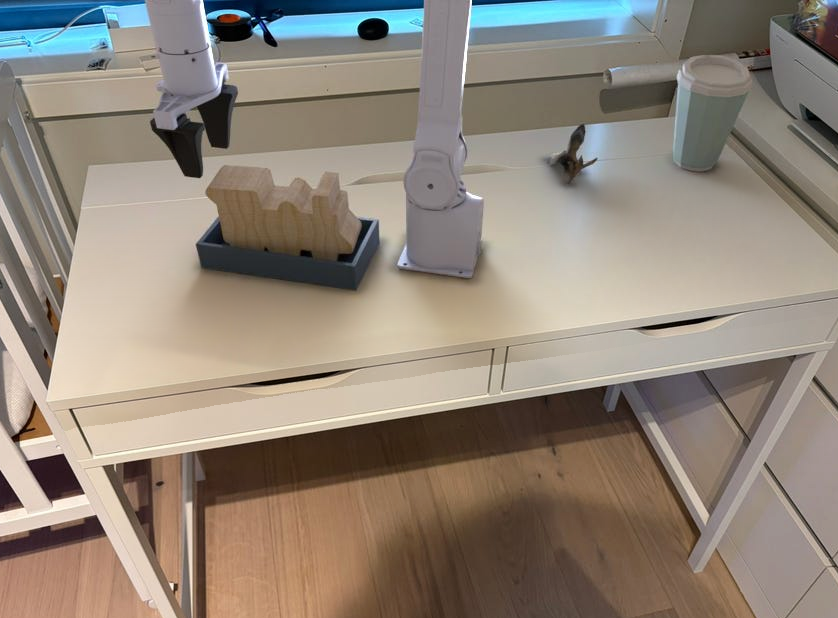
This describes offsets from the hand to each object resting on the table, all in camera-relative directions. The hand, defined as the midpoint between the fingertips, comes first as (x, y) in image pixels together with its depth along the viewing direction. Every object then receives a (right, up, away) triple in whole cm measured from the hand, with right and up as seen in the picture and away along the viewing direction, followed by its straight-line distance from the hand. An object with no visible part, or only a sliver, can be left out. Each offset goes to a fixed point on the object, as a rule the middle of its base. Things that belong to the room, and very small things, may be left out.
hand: (207, 161), depth 88 cm
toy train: (+9, -11, +4) cm, 15 cm away
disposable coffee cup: (+68, +7, +26) cm, 73 cm away
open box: (+10, -11, +4) cm, 15 cm away
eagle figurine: (+47, +4, +23) cm, 53 cm away
